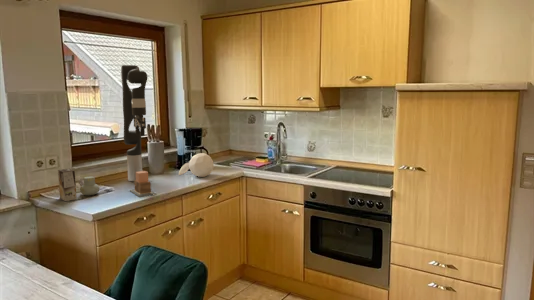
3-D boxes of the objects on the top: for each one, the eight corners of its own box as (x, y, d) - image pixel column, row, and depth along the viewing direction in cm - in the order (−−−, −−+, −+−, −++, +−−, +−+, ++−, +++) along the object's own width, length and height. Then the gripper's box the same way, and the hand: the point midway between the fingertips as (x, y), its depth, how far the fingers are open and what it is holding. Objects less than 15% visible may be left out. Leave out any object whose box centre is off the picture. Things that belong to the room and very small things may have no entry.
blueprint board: (129, 191, 240) (129, 189, 240) (146, 188, 246) (146, 187, 246) (138, 197, 227) (138, 195, 227) (156, 194, 232) (156, 193, 232)
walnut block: (134, 190, 239) (134, 180, 238) (144, 188, 242) (144, 179, 241) (140, 193, 231) (140, 183, 230) (150, 192, 234) (150, 182, 233)
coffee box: (77, 199, 223) (75, 170, 220) (65, 201, 218) (62, 172, 216) (71, 196, 229) (69, 168, 227) (59, 198, 225) (57, 169, 222)
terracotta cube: (135, 181, 236) (135, 171, 235) (145, 179, 239) (144, 170, 238) (138, 182, 232) (138, 173, 231) (148, 181, 235) (148, 172, 234)
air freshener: (101, 194, 232) (100, 177, 231) (86, 197, 226) (85, 180, 225) (93, 191, 240) (92, 174, 238) (79, 193, 234) (78, 177, 232)
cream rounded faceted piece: (209, 149, 272) (191, 145, 295) (185, 171, 264) (168, 165, 286) (222, 167, 280) (204, 161, 302) (199, 189, 271) (182, 181, 294)
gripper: (149, 107, 225) (150, 135, 228) (141, 106, 237) (142, 133, 239) (136, 107, 221) (137, 136, 223) (128, 106, 233) (129, 134, 235)
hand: (140, 135), depth 231 cm, fingers open, 8 cm apart
